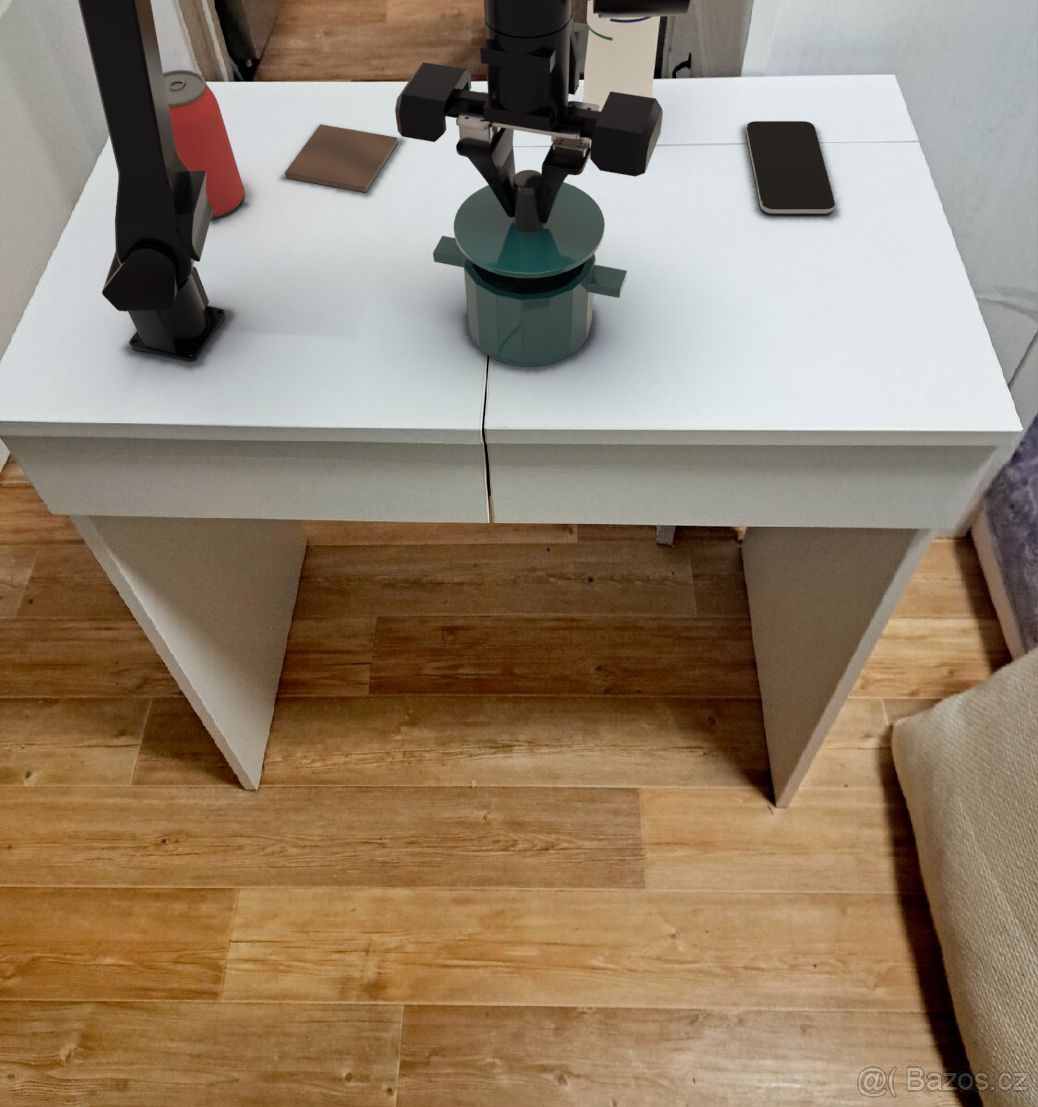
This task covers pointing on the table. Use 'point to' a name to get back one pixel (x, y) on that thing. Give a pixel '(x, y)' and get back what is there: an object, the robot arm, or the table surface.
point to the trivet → (342, 158)
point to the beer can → (203, 138)
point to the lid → (529, 230)
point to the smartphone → (789, 168)
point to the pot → (530, 308)
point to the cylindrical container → (619, 56)
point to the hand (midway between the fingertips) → (529, 217)
